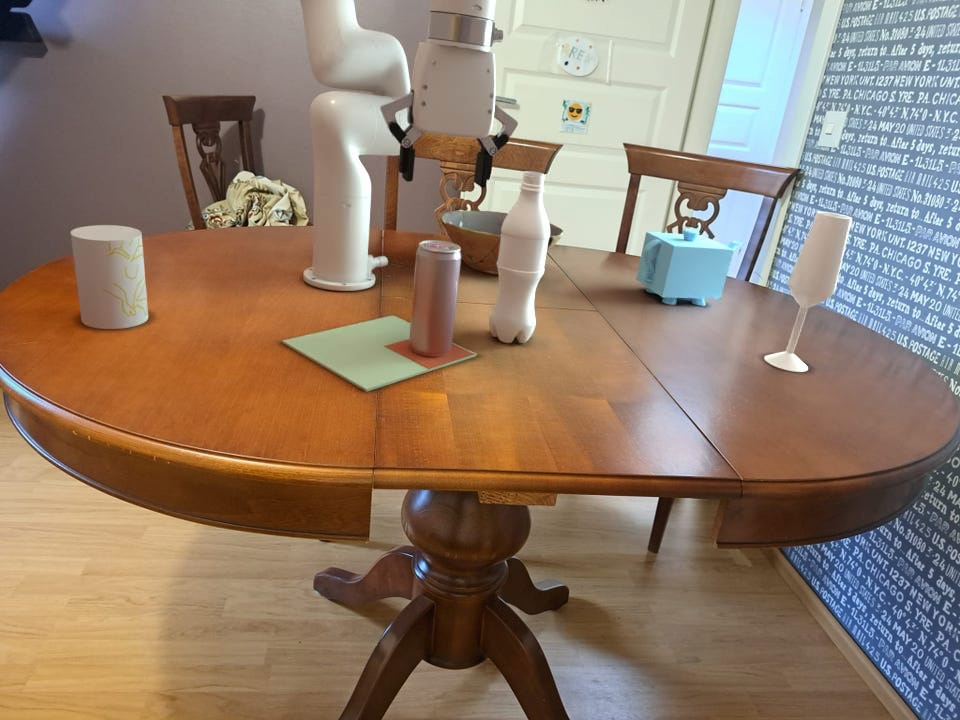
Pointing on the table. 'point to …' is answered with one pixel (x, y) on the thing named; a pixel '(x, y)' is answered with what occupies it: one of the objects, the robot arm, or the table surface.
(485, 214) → the bowl
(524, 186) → the water bottle
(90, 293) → the cup
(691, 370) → the table surface
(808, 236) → the champagne flute
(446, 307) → the beverage can
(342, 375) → the placemat
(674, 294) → the teapot
